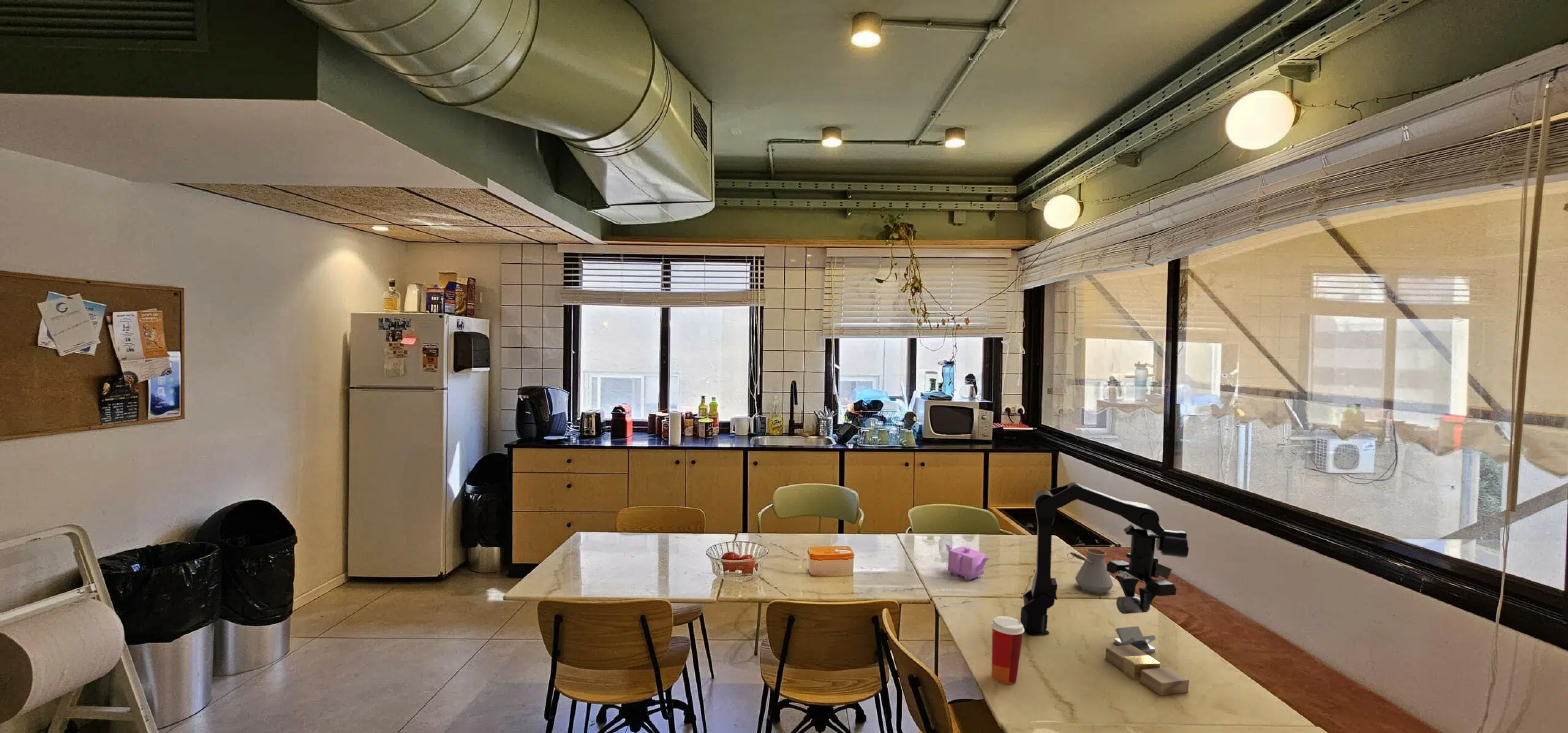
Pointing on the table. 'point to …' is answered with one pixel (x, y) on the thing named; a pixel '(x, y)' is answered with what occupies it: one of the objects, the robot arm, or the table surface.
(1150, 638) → the v block
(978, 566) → the teapot
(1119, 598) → the dark grey rounded block
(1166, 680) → the beam
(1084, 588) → the coffee pot
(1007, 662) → the paper cup
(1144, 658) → the block
